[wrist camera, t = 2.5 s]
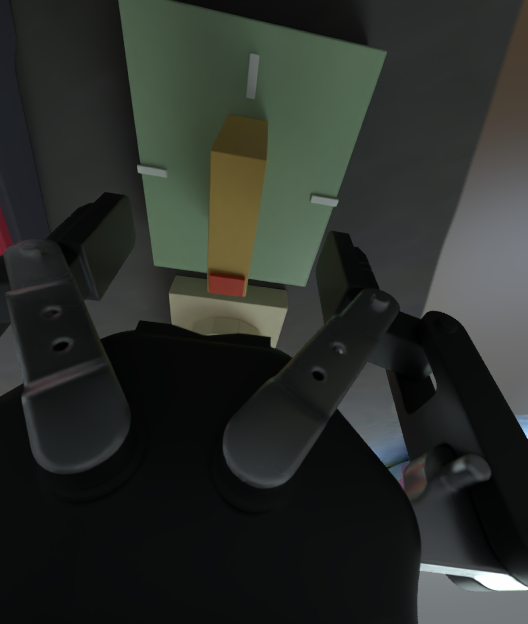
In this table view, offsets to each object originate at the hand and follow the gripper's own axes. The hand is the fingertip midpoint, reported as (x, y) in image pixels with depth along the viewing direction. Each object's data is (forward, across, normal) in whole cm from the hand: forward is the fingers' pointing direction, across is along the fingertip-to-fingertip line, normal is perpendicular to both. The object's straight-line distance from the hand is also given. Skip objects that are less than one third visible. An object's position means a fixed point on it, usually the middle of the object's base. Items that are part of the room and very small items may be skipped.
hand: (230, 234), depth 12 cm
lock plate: (+7, 0, 0) cm, 7 cm away
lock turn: (+4, 0, 0) cm, 4 cm away
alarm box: (+8, 0, +14) cm, 16 cm away
